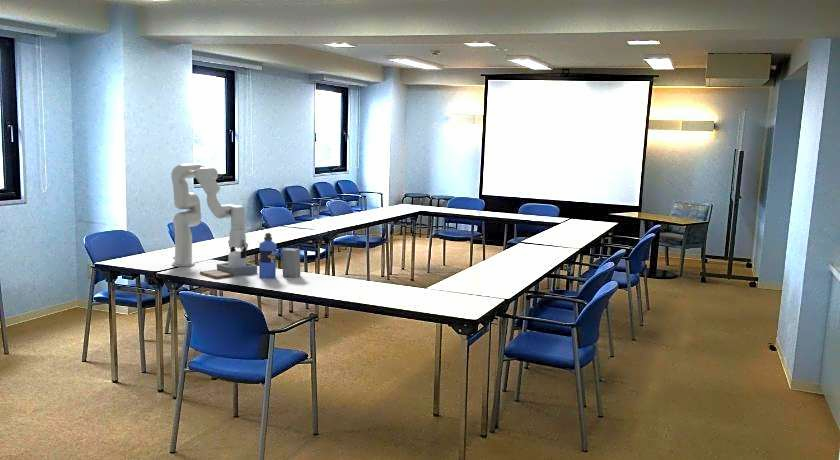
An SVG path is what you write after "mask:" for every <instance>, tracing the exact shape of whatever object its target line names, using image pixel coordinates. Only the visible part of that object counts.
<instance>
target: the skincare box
mask: <svg viewBox="0 0 840 460" xmlns="http://www.w3.org/2000/svg"><path fill="white" fill-rule="evenodd" d="M281 252H282V254H281V257H282V277H286V276H291V277H290V278H297V277H299V276H301V255H300V254H301V253H300V252H301V249H300V248H293V247H291V248H290V247H286V248H284V249H282V250H281Z"/></svg>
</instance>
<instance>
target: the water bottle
mask: <svg viewBox="0 0 840 460" xmlns="http://www.w3.org/2000/svg"><path fill="white" fill-rule="evenodd" d="M263 238H264V241H262V242H259V256H260V257H259V267H258V268H259V269H258V271H259V272H258V276H259V279H263V278H272V279H275V278H276V274H277V273H276V271H277V269H276V268H277V267H276V266H277V261H276V254H277V243H276V242H274V241H273V237H272V234H271V233H270V232H266V233H265V234H264V237H263ZM274 277H275V278H274Z"/></svg>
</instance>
